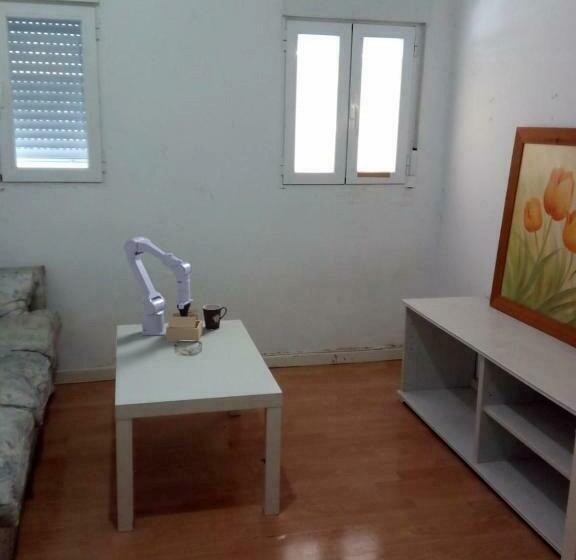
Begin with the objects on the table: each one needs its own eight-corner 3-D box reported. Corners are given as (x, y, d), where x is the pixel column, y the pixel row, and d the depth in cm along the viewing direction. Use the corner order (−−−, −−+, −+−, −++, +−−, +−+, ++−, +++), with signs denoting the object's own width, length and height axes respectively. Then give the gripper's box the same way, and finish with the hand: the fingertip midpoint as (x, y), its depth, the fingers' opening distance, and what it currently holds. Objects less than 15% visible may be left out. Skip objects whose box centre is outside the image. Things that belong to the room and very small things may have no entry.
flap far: (197, 313, 282) (197, 312, 282) (172, 313, 282) (172, 312, 282) (198, 320, 285) (198, 319, 285) (174, 319, 285) (174, 319, 285)
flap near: (170, 316, 277) (170, 316, 276) (195, 317, 277) (195, 316, 276) (169, 327, 275) (169, 327, 275) (195, 327, 275) (195, 327, 274)
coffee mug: (204, 331, 290) (203, 310, 287) (202, 325, 298) (201, 304, 295) (229, 329, 292) (229, 308, 290) (226, 323, 301) (226, 303, 298)
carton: (166, 341, 276) (166, 328, 274) (171, 332, 287) (171, 319, 286) (198, 342, 276) (198, 328, 274) (202, 332, 287) (202, 320, 286)
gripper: (189, 294, 269) (190, 325, 273) (195, 285, 283) (195, 315, 287) (173, 294, 269) (174, 325, 273) (179, 285, 283) (180, 314, 287)
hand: (184, 319), depth 280 cm, fingers closed
